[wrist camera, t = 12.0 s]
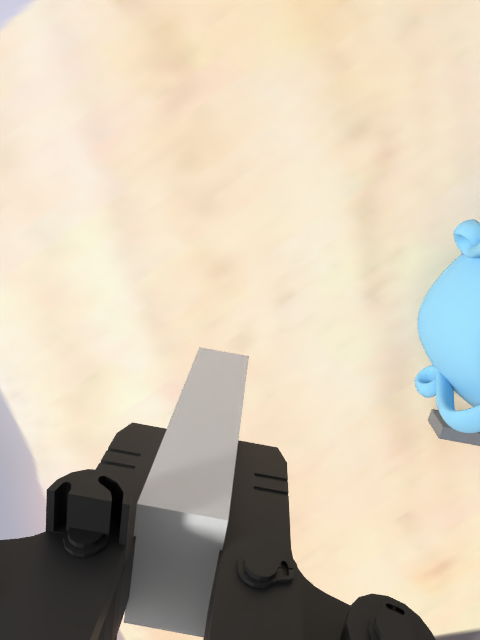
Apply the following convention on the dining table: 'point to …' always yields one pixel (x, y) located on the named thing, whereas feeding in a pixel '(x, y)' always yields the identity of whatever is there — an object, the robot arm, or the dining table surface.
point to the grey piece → (451, 430)
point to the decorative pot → (454, 334)
